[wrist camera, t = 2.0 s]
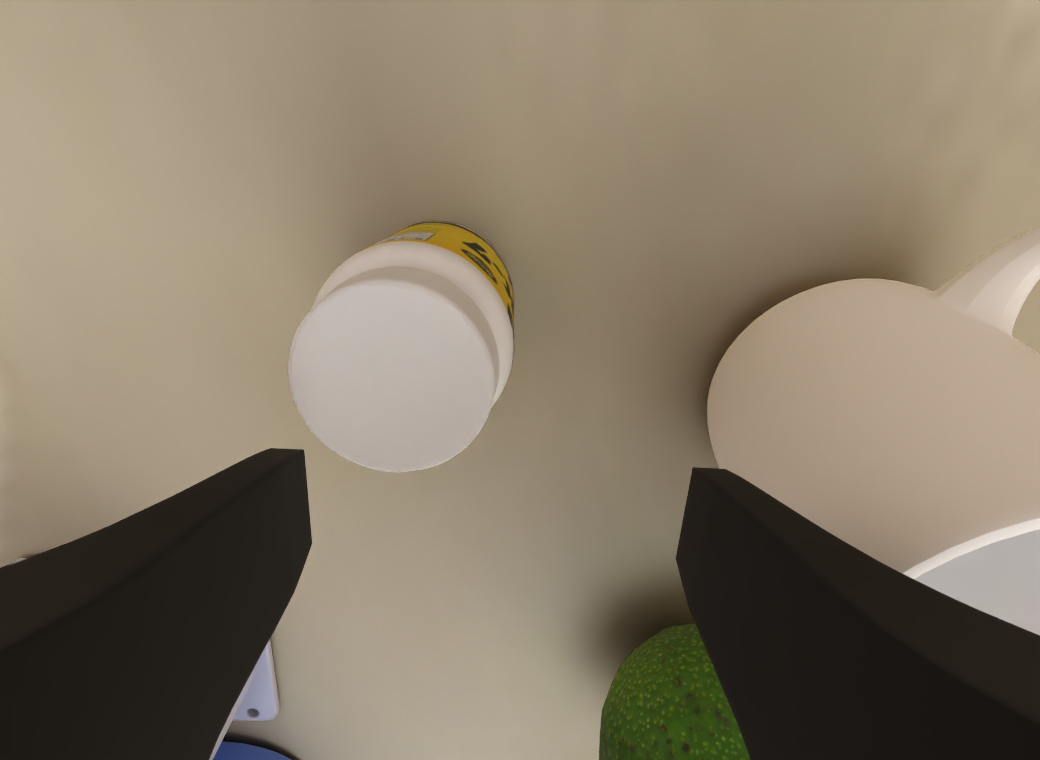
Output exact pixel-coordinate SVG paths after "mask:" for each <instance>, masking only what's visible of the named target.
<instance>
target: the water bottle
mask: <svg viewBox="0 0 1040 760" xmlns="http://www.w3.org/2000/svg"><path fill="white" fill-rule="evenodd" d="M213 760H291V759H289V758H287V757H286V756H284V755H282V754H279V753H277V752H274V751H271V750H268V749H266V748H262V747H258V746H253V745H249V744H244V743H234V742H221V744H220V746H219V748H218V750H217V752H216V754H215V756H214V758H213Z"/></svg>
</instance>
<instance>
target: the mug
mask: <svg viewBox="0 0 1040 760" xmlns="http://www.w3.org/2000/svg"><path fill="white" fill-rule="evenodd" d="M1039 279H1040V227H1037V228H1034V229H1032V230H1030V231H1027V232H1025V233H1023V234H1020V235H1018V236H1016V237H1013V238H1012V239H1010V240H1008V241H1006V242H1004V243H1002V244H1001V245H999V246H997V247H995V248H993V249H992V250H990V251H989V252H987V253H985V254H984V255H982V256H981V257H979V258H978V259H976V260H975V261H973V262H972V263H971V264H969V265H968V266H967V267H965V268H964V269H963V270H961V271H960V272H959V273H957V274H956V275H955V276H954V277H952V278H951V279H950V280H949V281H948V282H946V283H945V284H944V285H942V286H941V287H940V288H938V289H937V290H936V291H931V290H929V289H927V288H924V287H920V286H916V285H912V284H908V283H904V282H900V281H894V280H886V279H852V280H843V281H837V282H833V283H829V284H825V285H820V286H817V287H814V288H812V289H809V290H806V291H803V292H800V293H798V294H796V295H794V296H792V297H790V298H788V299H786V300H784V301H782V302H780V303H779V304H777V305H775V306H774V307H772V308H770V309H769V310H767V311H766V312H765V313H763V314H762V315H761V316H759V317H758V318H757V319H756V320H754V321H753V322H752V323H751V324H750V325H749V326H748V327H747V328H746V329H745V330H744V331H743V332H742V333H741V334H740V335H739V336H738V337H737V338H736V339H735V341H734V342H733V343H732V344H731V346H730V347H729V348H728V349H727V351H726V353H725V354H724V356H723V358H722V359H721V361H720V362H719V365H718V367H717V369H716V371H715V374H714V376H713V379H712V382H711V386H710V389H709V395H708V402H707V425H708V430H709V435H710V440H711V445H712V448H713V451H714V455H715V458H716V461H717V464H718V466H719V469H726V470H729V471H731V472H733V473H735V474H736V475H738V476H740V477H742V478H743V479H745V480H747V481H748V482H750V483H752V484H753V485H755V486H756V487H758V488H760V489H761V490H763V491H764V492H766V493H767V494H769V495H771V496H772V497H774V498H775V499H777V500H778V501H780V502H781V503H783V504H785V505H786V506H788V507H789V508H791V509H792V510H794V511H796V512H797V513H799V514H800V515H802V516H803V517H805V518H807V519H808V520H810V521H811V522H813V523H815V524H816V525H818V526H819V527H821V528H823V529H824V530H826V531H828V532H829V533H831V534H833V535H834V536H836V537H838V538H839V539H841V540H843V541H844V542H846V543H848V544H850V545H851V546H853V547H855V548H857V549H858V550H860V551H862V552H864V553H865V554H867V555H869V556H871V557H872V558H874V559H876V560H878V561H880V562H881V563H883V564H885V565H887V566H889V567H891V568H893V569H895V570H896V571H898V572H900V573H902V574H904V575H906V576H908V577H910V578H912V579H914V580H916V581H918V582H920V583H923V584H925V585H927V586H929V587H931V588H933V589H935V590H937V591H939V592H941V593H943V594H945V595H947V596H949V597H951V598H953V599H956V600H958V601H960V602H962V603H964V604H967V605H969V606H971V607H973V608H976V609H978V610H980V611H982V612H985V613H987V614H990V615H992V616H994V617H997V618H999V619H1002V620H1004V621H1006V622H1009V623H1011V624H1014V625H1016V626H1018V627H1021V628H1023V629H1026V630H1028V631H1030V632H1033V633H1035V634H1038V635H1040V353H1038V352H1037V351H1035V350H1034V349H1032V348H1030V347H1029V346H1027V345H1026V344H1024V343H1022V342H1021V341H1019V340H1017V339H1016V338H1014V337H1013V336H1012V329H1013V326H1014V323H1015V320H1016V318H1017V316H1018V313H1019V311H1020V309H1021V307H1022V305H1023V303H1024V301H1025V299H1026V298H1027V296H1028V294H1029V292H1030V291H1031V290H1032V288H1033V287H1034V285H1035V284H1036V282H1037V281H1038V280H1039Z"/></svg>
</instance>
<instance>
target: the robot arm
mask: <svg viewBox="0 0 1040 760" xmlns="http://www.w3.org/2000/svg"><path fill="white" fill-rule="evenodd" d="M311 545H312V538H311V526H310V514H309V503H308V491H307V479H306V467H305V455H304V450H298V449H276V448H270V449H267V450H265V451H262V452H259V453H257V454H255V455H253V456H251V457H249V458H246V459H244V460H242V461H240V462H238V463H236V464H234V465H232V466H230V467H229V468H227V469H225V470H223V471H221V472H219V473H217V474H215V475H213V476H211V477H209V478H207V479H205V480H203V481H201V482H199V483H197V484H195V485H193V486H191V487H190V488H188V489H186V490H184V491H182V492H180V493H178V494H176V495H174V496H172V497H170V498H168V499H165V500H163V501H161V502H159V503H157V504H155V505H153V506H151V507H148V508H146V509H144V510H142V511H140V512H138V513H136V514H134V515H131V516H129V517H127V518H125V519H123V520H121V521H119V522H117V523H114V524H112V525H110V526H108V527H105V528H103V529H101V530H98V531H96V532H94V533H91V534H89V535H86V536H84V537H82V538H79V539H77V540H74V541H72V542H69V543H67V544H64V545H61V546H59V547H56V548H54V549H51V550H48V551H46V552H43V553H41V554H38V555H35V556H33V557H30V558H19V559H17V560H15V561H14V562H13V563H12V564H10V565H7V566H4V567H1V568H0V760H213V758H214V756H215V754H216V752H217V750H218V748H219V746H220V744H221V742H222V740H223V738H224V736H225V734H226V732H227V730H228V728H229V726H230V724H231V722H232V720H251V721H268V720H272V719H274V718H275V717H276V715H277V713H278V711H279V699H278V692H277V685H276V677H275V670H274V663H273V655H272V648H271V640H270V637H271V636H272V634H273V632H274V630H275V628H276V626H277V624H278V622H279V620H280V618H281V617H282V615H283V613H284V611H285V609H286V607H287V605H288V603H289V601H290V599H291V597H292V595H293V593H294V591H295V589H296V586H297V583H298V581H299V578H300V576H301V573H302V570H303V568H304V565H305V562H306V559H307V556H308V553H309V550H310V548H311ZM676 561H677V565H678V569H679V573H680V577H681V581H682V585H683V588H684V592H685V596H686V599H687V603H688V606H689V609H690V611H691V614H692V616H693V619H694V621H695V624H696V626H697V629H698V631H699V634H700V636H701V638H702V641H703V643H704V646H705V648H706V650H707V653H708V655H709V658H710V660H711V662H712V665H713V667H714V669H715V672H716V674H717V677H718V679H719V681H720V684H721V686H722V688H723V691H724V693H725V696H726V698H727V700H728V703H729V705H730V707H731V710H732V712H733V715H734V717H735V719H736V722H737V724H738V727H739V729H740V732H741V735H742V737H743V740H744V743H745V746H746V748H747V751H748V754H749V757H750V760H1040V635H1038V634H1035V633H1033V632H1030V631H1028V630H1026V629H1023V628H1021V627H1018V626H1016V625H1014V624H1011V623H1009V622H1006V621H1004V620H1002V619H999V618H997V617H994V616H992V615H990V614H987V613H985V612H982V611H980V610H978V609H976V608H973V607H971V606H969V605H967V604H964V603H962V602H960V601H958V600H956V599H953V598H951V597H949V596H947V595H945V594H943V593H941V592H939V591H937V590H935V589H933V588H931V587H929V586H927V585H925V584H923V583H920V582H918V581H916V580H914V579H912V578H910V577H908V576H906V575H904V574H902V573H900V572H898V571H896V570H895V569H893V568H891V567H889V566H887V565H885V564H883V563H881V562H880V561H878V560H876V559H874V558H872V557H871V556H869V555H867V554H865V553H864V552H862V551H860V550H858V549H857V548H855V547H853V546H851V545H850V544H848V543H846V542H844V541H843V540H841V539H839V538H838V537H836V536H834V535H833V534H831V533H829V532H828V531H826V530H824V529H823V528H821V527H819V526H818V525H816V524H815V523H813V522H811V521H810V520H808V519H807V518H805V517H803V516H802V515H800V514H799V513H797V512H796V511H794V510H792V509H791V508H789V507H788V506H786V505H785V504H783V503H781V502H780V501H778V500H777V499H775V498H774V497H772V496H771V495H769V494H767V493H766V492H764V491H763V490H761V489H760V488H758V487H756V486H755V485H753V484H752V483H750V482H748V481H747V480H745V479H743V478H742V477H740V476H738V475H736V474H735V473H733V472H731V471H729V470H726V469H717V468H695V467H693V469H692V475H691V480H690V485H689V491H688V496H687V501H686V507H685V512H684V517H683V522H682V528H681V533H680V538H679V544H678V549H677V554H676Z"/></svg>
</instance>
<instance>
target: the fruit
mask: <svg viewBox="0 0 1040 760" xmlns="http://www.w3.org/2000/svg"><path fill="white" fill-rule="evenodd" d="M599 760H750V757H749V754H748V751H747V748H746V746H745V743H744V740H743V737H742V735H741V732H740V729H739V727H738V724H737V722H736V719H735V717H734V715H733V712H732V710H731V707H730V705H729V703H728V700H727V698H726V696H725V693H724V691H723V688H722V686H721V684H720V681H719V679H718V677H717V674H716V672H715V669H714V667H713V665H712V662H711V660H710V658H709V655H708V653H707V650H706V648H705V646H704V643H703V641H702V638H701V636H700V634H699V631H698V629H697V626H696V624H695V623H692V624H685V625H678V626H670V627H667V628H665V629H664V630H662V631H661V632H659V633H657V634H656V635H654V636H653V637H651V638H649V639H648V640H647V641H645V642H644V643H642V644H641V645H640V646H638V647H637V648H636V649H635V650H634V651H633V652H632V653H631V654H630V655H629V656H628V657H627V659H626V660H625V661H624V662H623V663H622V664H621V665H620V667H619V669H618V671H617V674H616V676H615V678H614V680H613V682H612V684H611V687H610V690H609V692H608V695H607V698H606V700H605V703H604V706H603V709H602V716H601V729H600V748H599Z"/></svg>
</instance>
